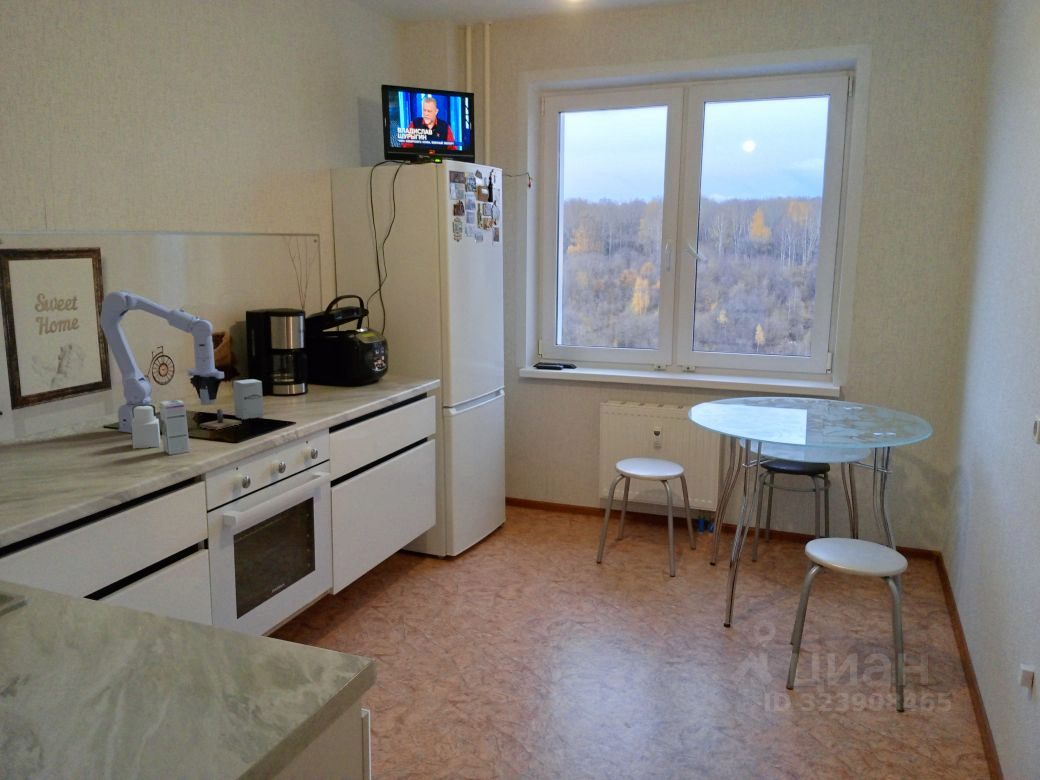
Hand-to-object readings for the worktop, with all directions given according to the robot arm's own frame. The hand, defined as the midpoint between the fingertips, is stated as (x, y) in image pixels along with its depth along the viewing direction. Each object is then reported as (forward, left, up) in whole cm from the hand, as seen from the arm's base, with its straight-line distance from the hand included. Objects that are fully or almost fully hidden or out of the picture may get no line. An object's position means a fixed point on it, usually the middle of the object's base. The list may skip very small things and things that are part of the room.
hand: (207, 398), depth 251 cm
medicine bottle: (-26, -4, -9) cm, 28 cm away
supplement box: (+17, 0, -9) cm, 19 cm away
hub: (0, 0, -2) cm, 2 cm away
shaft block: (+2, -3, -9) cm, 10 cm away
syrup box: (-27, -18, -9) cm, 34 cm away
